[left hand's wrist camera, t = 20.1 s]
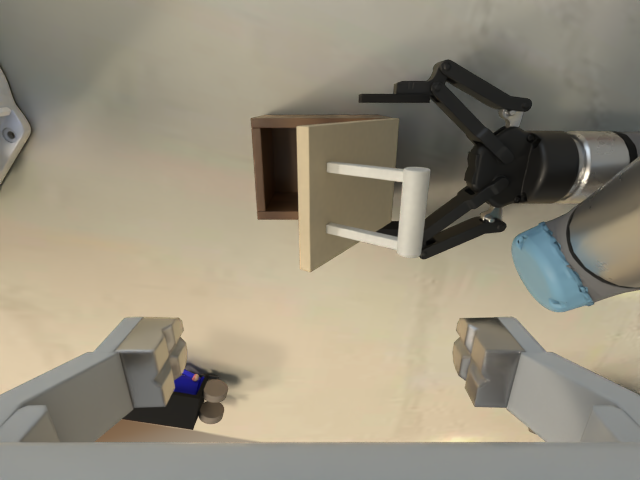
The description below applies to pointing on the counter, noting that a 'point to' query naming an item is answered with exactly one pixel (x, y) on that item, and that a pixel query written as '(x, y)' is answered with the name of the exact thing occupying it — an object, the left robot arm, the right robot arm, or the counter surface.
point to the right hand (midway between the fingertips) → (356, 167)
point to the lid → (355, 190)
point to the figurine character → (187, 403)
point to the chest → (283, 160)
